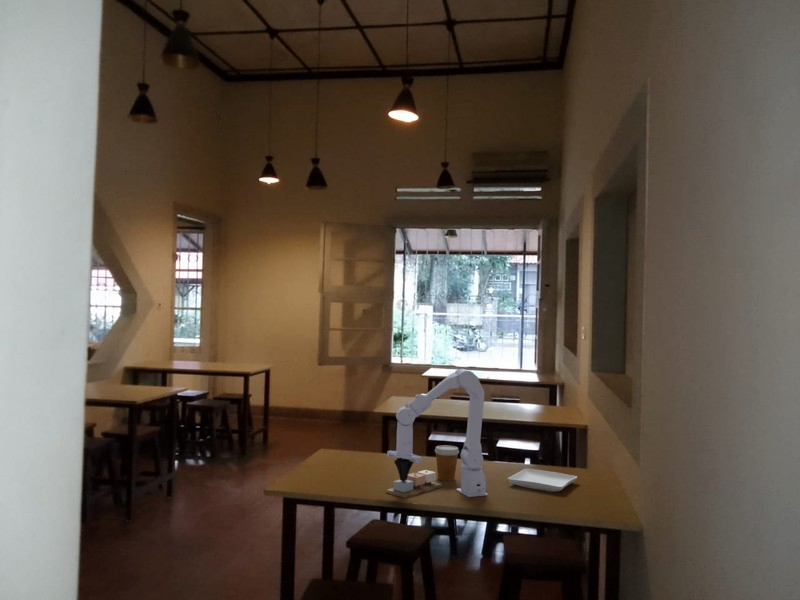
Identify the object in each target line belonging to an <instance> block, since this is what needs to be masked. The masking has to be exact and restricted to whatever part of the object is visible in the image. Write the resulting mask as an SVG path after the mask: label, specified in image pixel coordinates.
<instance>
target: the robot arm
mask: <svg viewBox="0 0 800 600" xmlns="http://www.w3.org/2000/svg"><path fill="white" fill-rule="evenodd" d="M460 387H461V388H462V389H463V390H464V391H465V393H467V394H468V395H469V403H468V404H469V405H468V414H467V415H468V417H467V424H466V425H467V427H466V434H465V435H466V437H465V440H464V443H463V447H462V449H461V452H460V460H461V461H462V464H461V465H460V466H461V468H460V469H461V471H460V476H461V478H460V488H456V489H455V490H456V491H457V492H459V493H461V494H462V495H464V496H466V497H468V498H471V497H472V498H473V497H483V496H488V495H489V494H488V493H487V491H486V490H487V487H486V486H487V477H486V474H485V473H484V472H483V470H482V465H483V464H484V456H483V454H482V450H483V449H482V443H481V438H482V437H481V436H482V426H483V425H482V423H483V414H484V404H485V389H484V388H483V386H482V384H481V382H480V380H479V377H478V376H477V375H476V374H475V373H474V372H472V370H467V369H466V368H458V369H456V370H455V372H452V373H450V374H448V375H447V376H446V377H445V378H444V379H443V380H441V381H440V382H439V383H437V384H436V385H435V386H434V387H433V388H432V389H431V390H429V391H428V392H426V394H425V393H420V394H418V393H417V394H416V395H415V396H414V399H412V400H411V401H409V402H408V403H404V406H401V407H399V408H398V410H397V412H396V414H395V417H396V420H397V422H396V423H397V424H396V426H397V427H396V444H395V445H396V448H395V450H387V451H386V452H387V453H386V454H387V455H386V456H387V458H393V459H394V458H395V459H394V461H393V463H394V464H395V466H396V468H397V472H398V476H399V479H400V480H401V481H405V480H407V477H408V474H410V470H411V467H412V466H413V464H414V463H416V464H421V463H422V462H423V461H422V459H423V457H422V456H419V455H417V454H414V453H413V445H414V444H413V442H414V441H413V440H414V439H413V438H414V437H413V436H414V434H413V433H414V429H413V423H414V422H415V419H416V418H417V417H419V416H420V415H422V414H423V413H424V412H426V411H427V410H428V409H430V408H431V407H432V402H433V401H434V400H436V399H437V398H439V397H440V396H441V395H443V394H445V393H446V392H447V391H449V390H451V389H460Z"/></svg>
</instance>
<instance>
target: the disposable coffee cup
mask: <svg viewBox="0 0 800 600" xmlns="http://www.w3.org/2000/svg"><path fill="white" fill-rule="evenodd" d="M434 452H435V457H436V459H435V460H436V470H437V471H436V472H437V479H439V480H440V481H447V482H449V481H453V480H455V476H456V469H457V462H458V455H459V453H460V450H459V447H457V446H456V445H455V446H454V445H450V444H449V445H447V444H445V445H444V444H443V445H437V446H435V449H434Z"/></svg>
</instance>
